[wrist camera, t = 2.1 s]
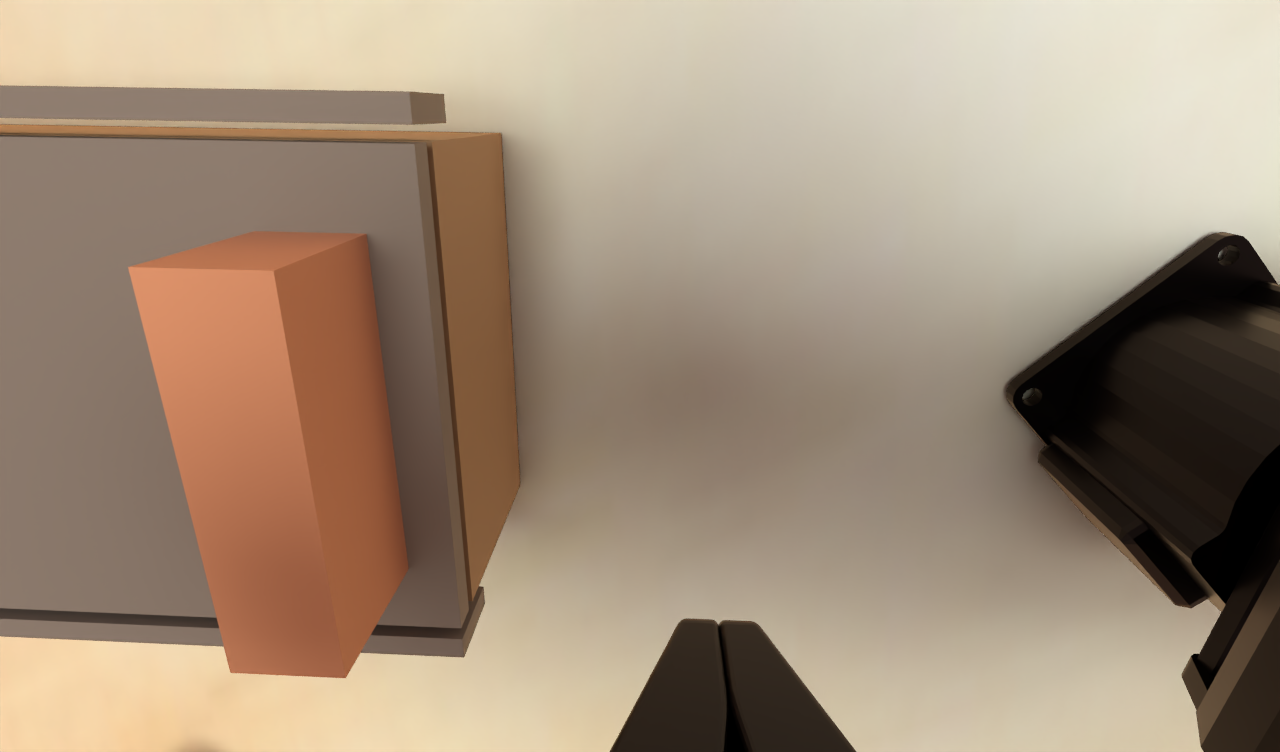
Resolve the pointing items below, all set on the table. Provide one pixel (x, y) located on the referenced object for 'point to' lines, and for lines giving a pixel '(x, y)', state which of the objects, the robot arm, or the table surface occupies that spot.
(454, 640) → the lid
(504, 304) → the base
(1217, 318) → the robot arm
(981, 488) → the table surface
